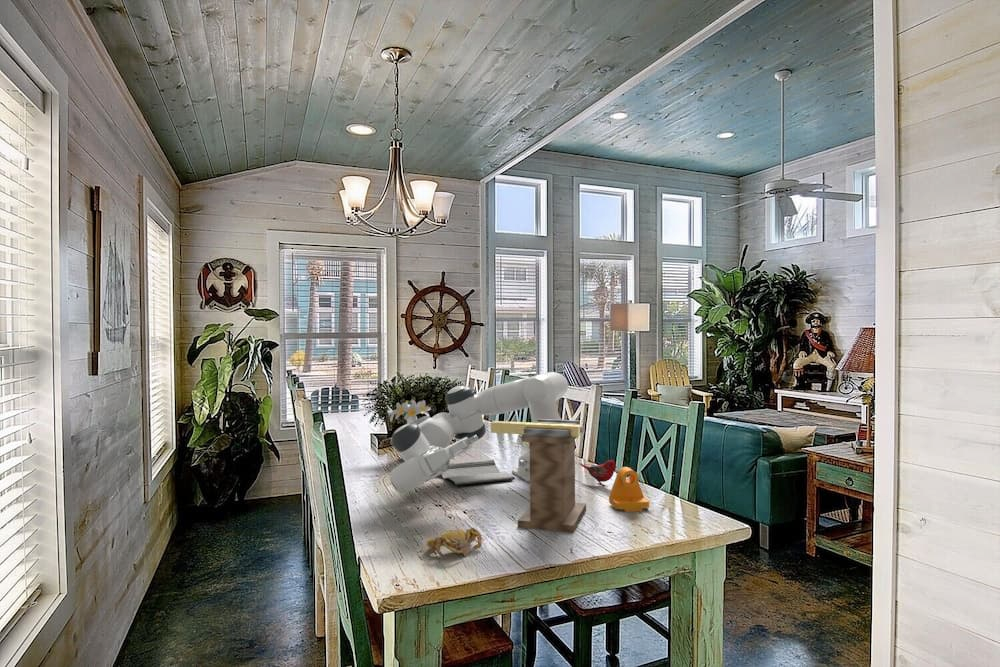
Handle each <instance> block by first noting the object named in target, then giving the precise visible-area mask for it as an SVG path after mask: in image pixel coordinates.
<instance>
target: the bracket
mask: <svg viewBox="0 0 1000 667" xmlns="http://www.w3.org/2000/svg"><path fill="white" fill-rule="evenodd" d="M627 476H629V477H628V478H627ZM626 478H627V479H626ZM639 479H640V478H639V474H638V473H637V471H634V470H633V469H632V468H631V467H628V466H623V467H621V468H619V470H618V471H617V473H616V476H615V479H614V482H613V484H612V487H611V490H610V492H609V495H608V496H609V497H608V502H609V504H610V505H611V506H612V507H613V508H614V509H615V510H622V511H624V512H641V511H643V509H648V508H650V500H648V499H647V498H646V497H645V495H644V493H643V491H642V490H643V489H642V488H641V485H640V482H639V481H640V480H639Z"/></svg>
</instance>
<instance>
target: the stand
mask: <svg viewBox="0 0 1000 667" xmlns="http://www.w3.org/2000/svg"><path fill="white" fill-rule="evenodd" d="M534 423H552V424H574V425H580V434H581V433H582V432H583V427H582V426H581V421H580V420H575V419H561V420H554V419H538V422H534ZM577 438H578V437H570V430H559V429H538V428H524V434H521V442H526V443H528V442H530V443H529V445H530V481H529V506H528V508H527V509H526V510H525V511H524V513H523V514H522V515H520V517H519V519H518V520H517V528H523V529H533V530H543V531H550V532H551V531H552V532H563V533H572V534H573V533H575V532H576V528H577V527H578V525H579V523H581V520H582V519H583V517H584V514H585V512H586V511H587V503H586V502H576V471H575V470H576V467H575V466H576V465H575V464H576V463H575V461H576V457H575V455H576V451H575V450H576V449H575V448H576V445H575V443H576V442H575V440H576V439H577Z"/></svg>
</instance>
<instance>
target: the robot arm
mask: <svg viewBox="0 0 1000 667" xmlns="http://www.w3.org/2000/svg"><path fill="white" fill-rule="evenodd" d="M567 380H568V379H567V378H566V377H565V376H564V375H563V374H561V373H559V372H556V371H548V372H545V373H540V374H535V375H533V376H529V377H525V378H520V379H517V380H512V381H509V382H505V383H500V384H496V385H494V386H491V387H487V388H486V389H483V390H481V391H480V392H478V393H477V390H476V389H473V388H472V387H469V386H466V385H458V386H454V387H452V388H450V390H447V392H446V394H445V397H444V398H445V405H447V408H448V412H449V413H448V412H445V411H444V412H439V413H437V414H434V415H433V416H432V417H431V416H430V415H429V416H427V415H424V416H420V417H419V418H417V420H415V421H414V422H412V423H410V424H407V423H406V424H404V425H402V426H400V427H398V428H397V429H396V430H395V431H394V432H393V433H392V435H391V442H390V443H391V445H392V447H393V448H394V449H395V450H396V452H398V454H399V455H400V457H401V458H402V459H403V461H404V462H402V463H400V464H398V465H397V466H396V467H395V468H393V470H391V471H390V472H389V473H388V474H389V475H388V477H389V481H390V484H391V485H392V487H394V489H395V491H397V492H398V493H400V494H402V493H407V492H409V491H412V490H413V489H414V490H415V489H416V488H418V487H420V486H422V485H424V484H425V483H427V482H428V481H430V480H432V479H435V478H436V477H438V476H441V474H442V473H444V472H446V471H447V468H448V465H449V463H450V462H451V460H452V459H454V458H455V457H457V456H459V455H460V454H462V453H464V452H466V451H468V450H469V449H470V448H472V444H474V443H476V442H477V441H478V440H480V439H482V438H483V437H484V436H485V434H486V430H487V429H486V424H485V423H484V418H483V416H495V415H501V414H507V413H511V412H514V411H519V410H524V409H527V408H529V413H530V419H531V423H534V422H538V419H554V420H562V418H561V415H560V413H559V411H558V410H559V409H558V406H557V401H559V400H560V399H562V398H563V396H565V394H566V393H567V392H568V386H569V383H568V381H567ZM482 415H483V416H482ZM453 439H456V440H457V441H456V442H453V443H452V440H453ZM527 444H529V446H528V449H527V450H526V451H525V452H523V454H522V455H520V456H519V458H518V464H517V467H516V468H513V469H512V470H511V473H512V474H514V475H515V476H517V477H519V478H520V479H522V480H524V482H525V481H526V482H530V442H527Z"/></svg>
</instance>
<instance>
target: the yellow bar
mask: <svg viewBox="0 0 1000 667" xmlns="http://www.w3.org/2000/svg"><path fill="white" fill-rule="evenodd" d="M580 427H581V424H580V425H574V424H552V423H532V422H528V421H527V422H526V421H525V422H524V421H505V420H502V421H501V420H493V421H491V422H490V433H492V434H493V433H494V434H507V435H508V434H511V435H524V428H538V429H559V430H570V437H577V438H579V437H580V436H581V433H580Z"/></svg>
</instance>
